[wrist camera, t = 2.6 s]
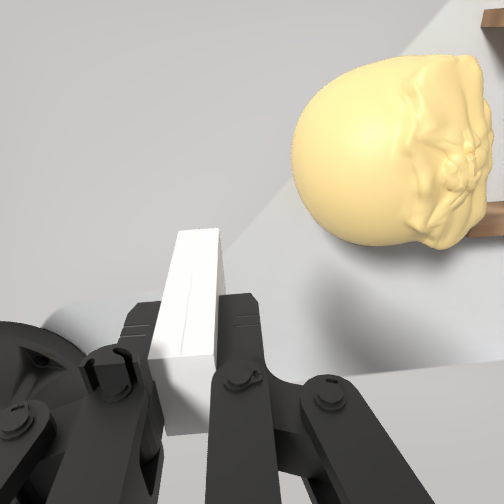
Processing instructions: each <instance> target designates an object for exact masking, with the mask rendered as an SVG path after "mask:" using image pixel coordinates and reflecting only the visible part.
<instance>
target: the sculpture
mask: <svg viewBox="0 0 504 504" xmlns="http://www.w3.org/2000/svg"><path fill="white" fill-rule="evenodd" d="M493 141H494V133H493V130H492V128H491V109H490V106H489V104H488V103H487V101H486V100H485V98H484V97H483V73H482V70H481V67H480V65H479V64H478V61H477V59H476V58H475V57H474V56H471V55H460V56H456V57H455V56H454V55H443V54H436V55H421V56H418V55H409V56H400V57H394V58H390V59H386V60H382V61H379V62H376V63H372V64H368V65H365V66H362V67H359V68H356V69H353V70H351V71H349V72H347V73H345V74H343V75H341V76H339V77H338V78H336V79H334V80H333V81H331V82H330V83H329V84H327V85H326V86H325V87H324V88H322V90H320V91H319V92H318V93H317V94H316V95H315V96H314V97H313V98H312V100H311V101H310V102H309V103H308V105H307V106H306V107H305V109H304V111H303V112H302V114H301V116H300V118H299V120H298V123H297V125H296V128H295V132H294V136H293V141H292V150H291V161H292V171H293V176H294V181H295V184H296V187H297V190H298V193H299V195H300V198H301V200H302V202H303V204H304V205H305V207H306V209H307V210H308V212H309V213H310V214H311V216H312V217H313V218H314V219H315V220H316V221H317V223H318V224H320V225H321V226H322V227H323V228H324V229H325V230H327V231H328V232H329V233H331V234H333V235H334V236H336V237H338V238H340V239H342V240H345V241H348V242H351V243H355V244H359V245H366V246H389V245H396V244H402V243H407V242H412V241H419V242H421V243H423V244H424V245H427V246H428V247H431V248H434V249H437V250H444V249H448V248H450V247H452V246H454V245H455V244H457V243H458V242H459V241H460V240H461V239H462V238H463V237H464V236H465V235H466V234H467V232H468V231H469V230H470V229H471V228H472V227H474V226H475V225H476V224H477V223H478V222H479V221H480V220H482V219H483V217H484V216H485V214H486V209H487V198H486V183H487V178H488V175H489V173H490V171H491V168H492V144H493Z"/></svg>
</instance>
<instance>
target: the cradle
mask: <svg viewBox="0 0 504 504" xmlns="http://www.w3.org/2000/svg"><path fill="white" fill-rule="evenodd" d="M481 27H504V8H500V9H488V10H484V14H483V19H482V24H481ZM501 235H504V201H499V202H487V209H486V214H485V216H484V217H483V219H482V220H480V221H479V222H478V223H477V224H476V225H475V226H474V227H472V228H471V229H470V230H469V231H468V232H467V234H466V235H465V236H467V237H468V238H475V237H488V236H501Z"/></svg>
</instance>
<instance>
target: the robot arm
mask: <svg viewBox="0 0 504 504" xmlns="http://www.w3.org/2000/svg"><path fill="white" fill-rule="evenodd" d="M164 426H165V430H166V434H167V436H175V435H187V434H197V433H198V434H199V433H209V434H208V435H209V436H208V453H207V454H208V455H207V473H206V493H205V504H282V503H281V494H280V485H279V476H278V471H282V472H286V473H289V474H293V475H297V476H301V478H302V480H303V482H304V485H305V488H306V490H307V492H308V495H309V497H310V500H311V502H312V504H435V503H434V501H433V500H432V499H431V497H430V496H429V494H428V493H427V491H426V490H425V488H424V487H423V485H422V484H421V482H420V481H419V480H418V478H417V477H416V475H415V474H414V472H413V471H412V469H411V468H410V466H409V465H408V463H407V462H406V460H405V459H404V457H403V456H402V454H401V453H400V451H399V450H398V449H397V447H396V446H395V444H394V443H393V441H392V440H391V438H390V437H389V435H388V434H387V432H386V431H385V429H384V428H383V426H382V425H381V423H380V422H379V421H378V419H377V418H376V416H375V415H374V413H373V412H372V410H371V409H370V407H369V406H368V404H367V403H366V401H365V400H364V398H363V397H362V396H361V394H360V393H359V391H358V390H357V389H356V388H355V387H354V385H353V384H352V383H351V382H349V381H348V380H346V379H344V378H342V377H340V376H335V375H329V374H326V375H317V376H315V377H313V378H311V379H309V380H308V381H307V382H306V383H305V384H304V385H298V384H292V383H288V382H285V381H282V380H280V379H278V378H277V377H275V376H274V375H273V374H272V373H270V371H269V370H268V368H267V367H266V364H265V359H264V350H263V341H262V332H261V324H260V315H259V306H258V302H257V300H256V299H255V298H254V297H253V296H252V294H251V293H243V294H231V295H225V279H224V270H223V261H222V251H221V243H220V233H219V228H211V229H197V230H185V231H179V232H178V236H177V240H176V244H175V248H174V252H173V256H172V261H171V265H170V269H169V273H168V277H167V281H166V286H165V289H164V293H163V297H162V301H155V302H142V303H137V305H136V306H135V307H134V308H133V309H132V310H131V311H130V312H129V313H128V315H127V318H126V320H125V323H124V328H123V329H122V332H121V335H120V338H119V340H118V343H117V344H112V345H108V346H104V347H101V348H99V349H97V350H95V351H93V352H92V353H90V354H89V355H88V356H87V357H85V356H84V355H83V354H82V353H81V352H80V351H79V350H78V349H77V348H76V347H74V346H73V345H72V344H71V343H69V342H68V341H66V340H65V339H63V338H61V337H59V336H57V335H56V334H54V333H51V332H49V331H47V330H44V329H41V328H38V327H35V326H31V325H27V324H22V323H15V322H5V321H3V322H2V321H0V504H157V502H158V495H159V488H160V482H161V474H162V468H163V461H164V450H163V445H162V441H161V439H162V433H163V427H164Z"/></svg>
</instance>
